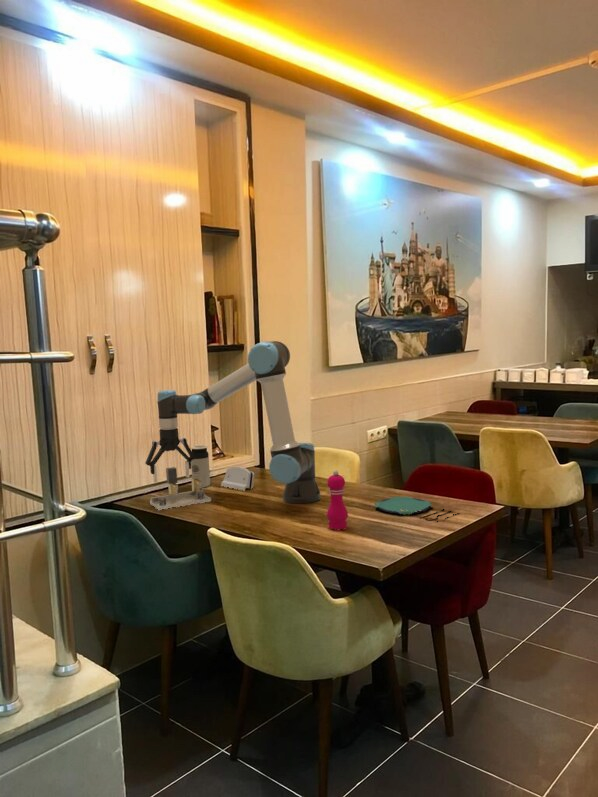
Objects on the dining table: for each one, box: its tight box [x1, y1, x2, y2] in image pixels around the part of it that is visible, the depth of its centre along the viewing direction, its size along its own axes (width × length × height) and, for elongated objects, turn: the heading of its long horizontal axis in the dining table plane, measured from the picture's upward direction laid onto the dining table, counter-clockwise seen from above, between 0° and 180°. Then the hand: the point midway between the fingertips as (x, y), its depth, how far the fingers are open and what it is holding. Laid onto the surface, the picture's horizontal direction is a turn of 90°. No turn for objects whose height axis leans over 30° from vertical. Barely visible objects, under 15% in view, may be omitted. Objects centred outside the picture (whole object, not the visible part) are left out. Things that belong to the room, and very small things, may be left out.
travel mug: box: [190, 444, 211, 488], centre depth 289 cm, size 8×8×18 cm
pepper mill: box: [326, 469, 349, 531], centre depth 219 cm, size 7×7×20 cm
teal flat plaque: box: [374, 496, 433, 515], centre depth 236 cm, size 20×30×2 cm, turn 41°
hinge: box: [220, 466, 255, 492], centre depth 285 cm, size 17×5×10 cm, turn 46°
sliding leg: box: [165, 466, 179, 495], centre depth 261 cm, size 4×8×11 cm, turn 28°
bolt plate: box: [149, 478, 212, 511], centre depth 261 cm, size 22×12×8 cm, turn 118°
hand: (171, 479), depth 263 cm, fingers open, 13 cm apart
